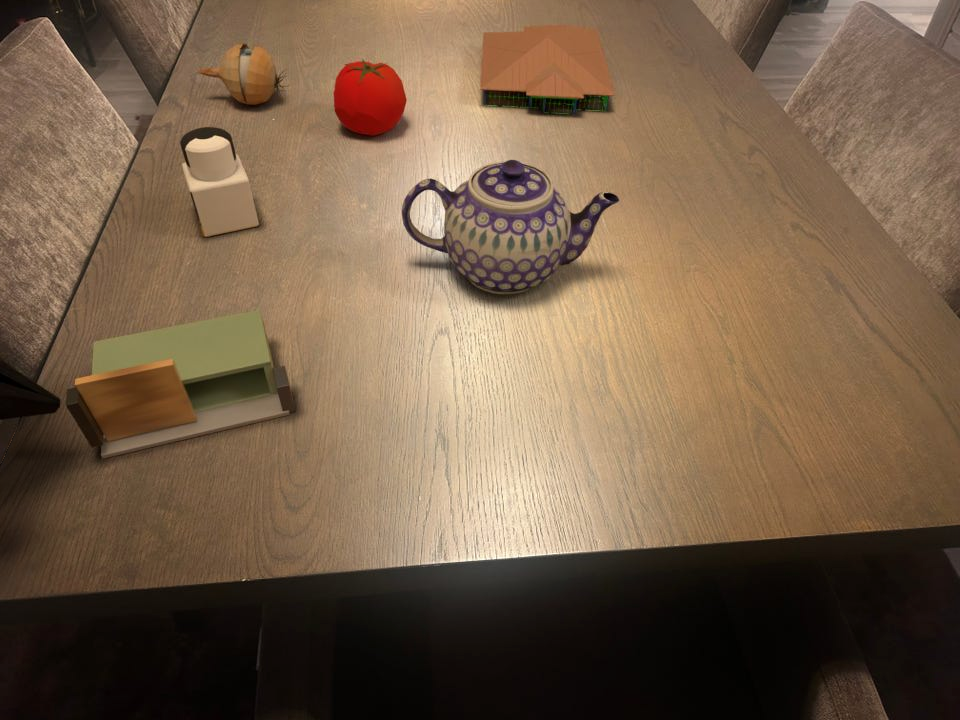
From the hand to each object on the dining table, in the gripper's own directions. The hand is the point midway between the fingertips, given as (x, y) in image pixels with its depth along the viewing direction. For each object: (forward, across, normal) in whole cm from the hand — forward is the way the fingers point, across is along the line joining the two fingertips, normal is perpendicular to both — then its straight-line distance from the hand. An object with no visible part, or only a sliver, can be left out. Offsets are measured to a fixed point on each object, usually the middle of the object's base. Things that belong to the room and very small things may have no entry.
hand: (58, 406), depth 58 cm
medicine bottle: (+16, +36, -6) cm, 40 cm away
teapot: (+39, +14, -28) cm, 50 cm away
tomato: (+34, +56, -23) cm, 69 cm away
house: (+59, +67, -48) cm, 101 cm away
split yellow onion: (+21, +70, -11) cm, 74 cm away
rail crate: (+12, +4, -2) cm, 13 cm away
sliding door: (+8, 0, +1) cm, 8 cm away
